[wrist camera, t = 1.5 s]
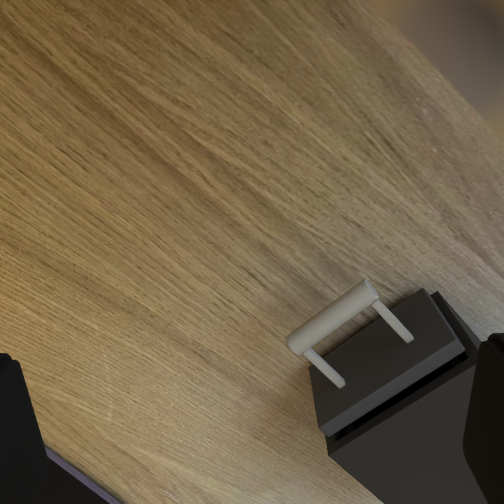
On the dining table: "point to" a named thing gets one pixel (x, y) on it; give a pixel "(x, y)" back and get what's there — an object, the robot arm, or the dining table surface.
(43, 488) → the smartphone
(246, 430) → the dining table surface
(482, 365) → the robot arm
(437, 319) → the drawer
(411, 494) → the cabinet
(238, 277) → the dining table surface
